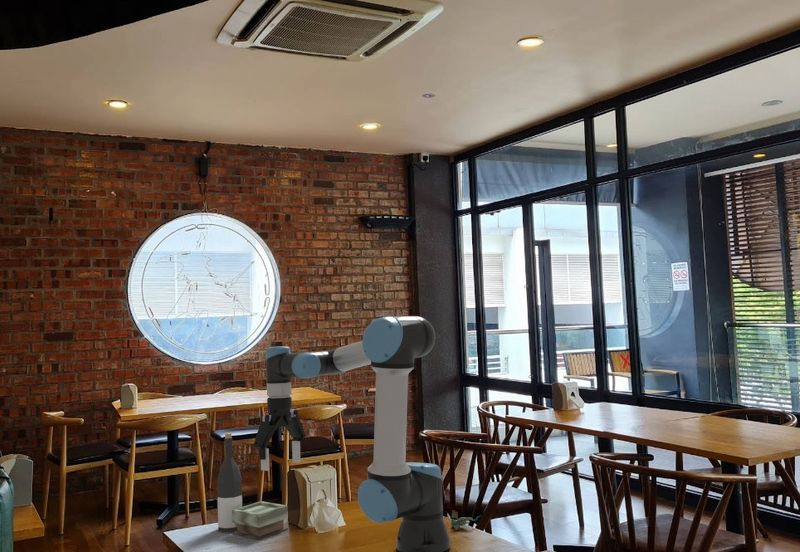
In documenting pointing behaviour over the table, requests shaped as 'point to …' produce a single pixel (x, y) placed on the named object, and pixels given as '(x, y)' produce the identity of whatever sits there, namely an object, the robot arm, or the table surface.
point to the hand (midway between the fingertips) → (281, 466)
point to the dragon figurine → (459, 520)
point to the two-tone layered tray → (260, 520)
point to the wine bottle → (228, 489)
